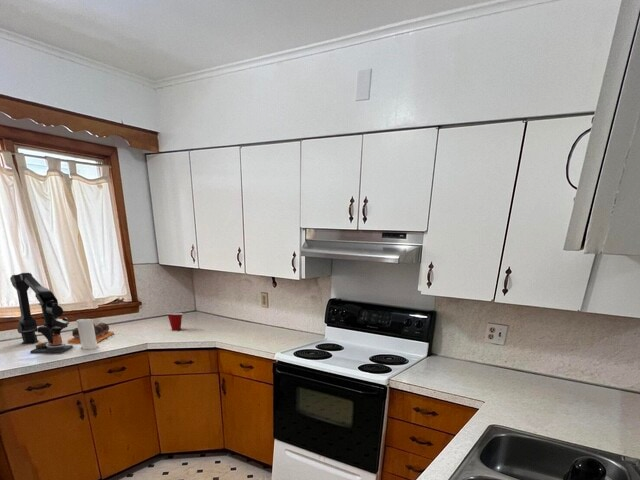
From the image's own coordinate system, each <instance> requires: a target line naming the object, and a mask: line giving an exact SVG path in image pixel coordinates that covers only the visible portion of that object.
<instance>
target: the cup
mask: <svg viewBox="0 0 640 480" xmlns="http://www.w3.org/2000/svg"><path fill="white" fill-rule="evenodd" d="M93 324H94V320H93V319H92V318H80V319H79V318H78V319H77V320H76V326H77V328H78V331H79V336H80V341H81V343H80V347H81V349H82V350H92V349H93V350H94V349H97V348H98V343H97V341H96V336H95V330H94V325H95V324H94V325H93Z"/></svg>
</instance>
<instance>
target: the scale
mask: <svg viewBox="0 0 640 480" xmlns="http://www.w3.org/2000/svg"><path fill="white" fill-rule="evenodd" d="M34 347H35V348H34V349H32V350H30V351H29V352H30V354H54V355H55V354H56V355H57V354H59V355H61V354H63V353H65V352H68V351H69V350H71V349H73V348H74V346H73V345H71V344H69V345H68V344H67V345H65V346H61V347H46V344H44V345H43V346H39V345H38V344H35V346H34Z"/></svg>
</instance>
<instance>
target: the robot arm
mask: <svg viewBox="0 0 640 480" xmlns="http://www.w3.org/2000/svg"><path fill="white" fill-rule="evenodd" d="M9 280H10V283H11V285H12V287H13V288H14V289H15V290H16V294H17V299H18V305H19V310H20V311H19V312H20V316H19V319H18V325H17V332H18V334H21V338H22V342H21V344H24V345H25V344H31V345H32V344H36V343H39V340H38V337H37V334H36V333H38V334H41V335H43V337H45V339H46V340H47V342H48V341H49V342H50V343H51V344H53V337H52V334H60V335H61V333H62V331H63V330H64V329H66V328H68V325H69V324H70V322H69V318H67V317H63V318H59V317H61V316H63V314H64V309H63V307H62V306H60V305H59V302H58V299H57V297H56V295H55V294H54V293H53V291H52V290H50V289H49V288H47V287H44V286H43V285H41V283H39V281H38V280H36V278H35V277H34V276H33V274H32V273H31V272H20V273H18V274H12V275H11V276H10V278H9ZM29 289H31V290H32V292H34V293H35V295H34V296H35V299H36V300H37V301H38V303H39V306H40V307H41V308H40V309H41V312H42V316H41V319H43V321H44V323H43V325H41V326H38V324H37V320H36V319H35V318H34V317H33V316H32V312H31V307H30V300H29V293H28V290H29Z"/></svg>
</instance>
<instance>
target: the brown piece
mask: <svg viewBox="0 0 640 480" xmlns="http://www.w3.org/2000/svg"><path fill="white" fill-rule="evenodd" d="M93 325H94V330H95V336H96V341H97V344H98V343H99V342H102V341H103V340H105V339H106V338H107V339H108V338H109V337H110V336H113V335H114V334H115V333H114V331H111V330H110V326H109V325H108V324H107V323H106V322H99V323H98V324H95V323H93ZM71 336H72V338H69V339H68V340H67V343H68V344H81V341H80V336H79V331H78V327H75V328H73V330H72V332H71Z"/></svg>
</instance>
